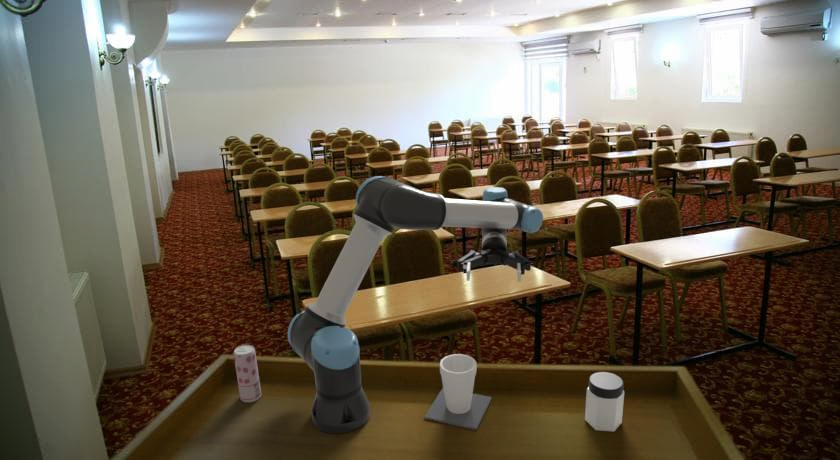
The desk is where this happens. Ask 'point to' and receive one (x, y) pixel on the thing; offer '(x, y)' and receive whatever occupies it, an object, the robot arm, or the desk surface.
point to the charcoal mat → (462, 420)
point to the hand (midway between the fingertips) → (493, 276)
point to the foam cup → (458, 381)
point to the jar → (604, 401)
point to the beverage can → (247, 373)
